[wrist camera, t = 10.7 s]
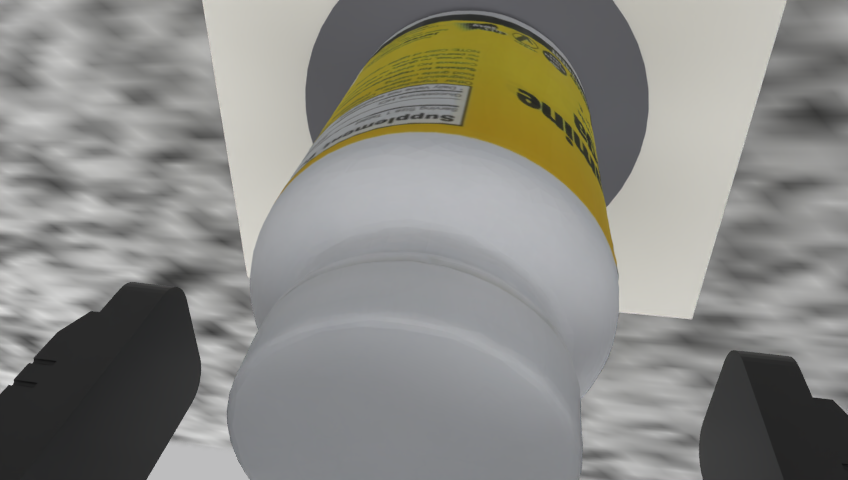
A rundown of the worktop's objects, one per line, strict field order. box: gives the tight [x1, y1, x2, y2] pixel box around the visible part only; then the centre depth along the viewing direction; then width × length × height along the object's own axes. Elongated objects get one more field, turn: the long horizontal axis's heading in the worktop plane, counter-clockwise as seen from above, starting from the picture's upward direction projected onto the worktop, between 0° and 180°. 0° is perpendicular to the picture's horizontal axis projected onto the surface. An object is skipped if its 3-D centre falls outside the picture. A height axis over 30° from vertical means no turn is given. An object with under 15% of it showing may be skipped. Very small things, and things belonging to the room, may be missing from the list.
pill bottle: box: [227, 11, 619, 480], centre depth 13 cm, size 6×6×11 cm
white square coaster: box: [202, 0, 787, 319], centre depth 18 cm, size 14×12×1 cm
